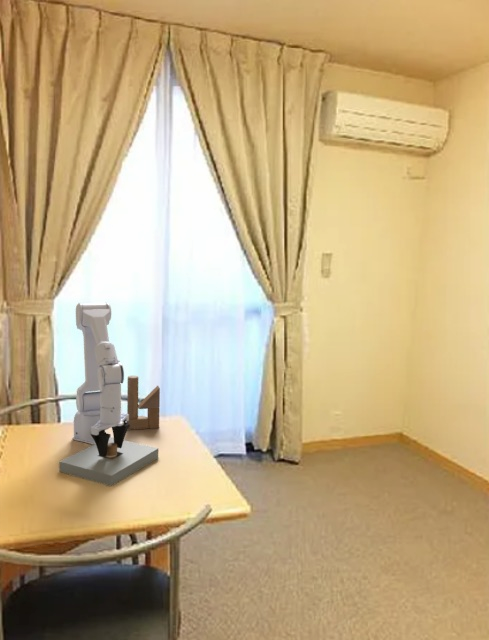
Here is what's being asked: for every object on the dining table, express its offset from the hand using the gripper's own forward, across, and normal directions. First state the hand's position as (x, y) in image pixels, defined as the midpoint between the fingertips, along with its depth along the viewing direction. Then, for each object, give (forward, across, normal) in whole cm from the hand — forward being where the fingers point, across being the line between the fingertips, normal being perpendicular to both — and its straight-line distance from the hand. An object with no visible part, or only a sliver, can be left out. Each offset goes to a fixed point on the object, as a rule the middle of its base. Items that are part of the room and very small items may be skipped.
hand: (110, 451), depth 169 cm
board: (+4, 0, 0) cm, 4 cm away
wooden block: (+4, +30, +10) cm, 32 cm away
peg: (+4, 0, 0) cm, 4 cm away
